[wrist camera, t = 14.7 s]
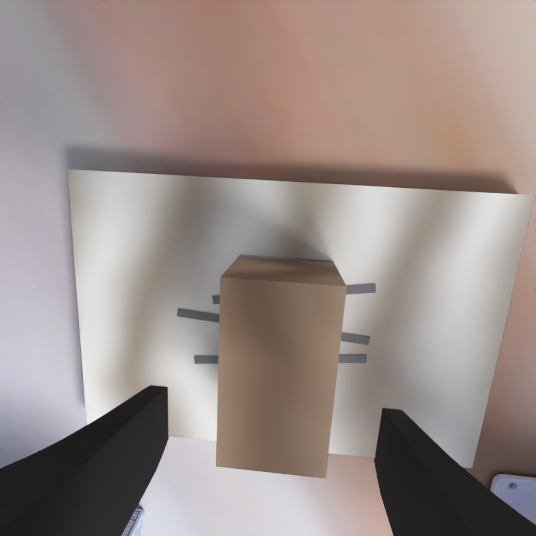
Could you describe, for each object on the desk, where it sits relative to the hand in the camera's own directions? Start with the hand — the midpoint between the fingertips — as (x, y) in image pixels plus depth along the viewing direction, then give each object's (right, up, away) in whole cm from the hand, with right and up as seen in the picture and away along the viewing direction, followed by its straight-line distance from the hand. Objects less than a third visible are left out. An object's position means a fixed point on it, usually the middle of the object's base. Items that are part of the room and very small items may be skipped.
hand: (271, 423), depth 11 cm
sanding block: (+1, +1, +8) cm, 8 cm away
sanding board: (+1, +2, +9) cm, 9 cm away
